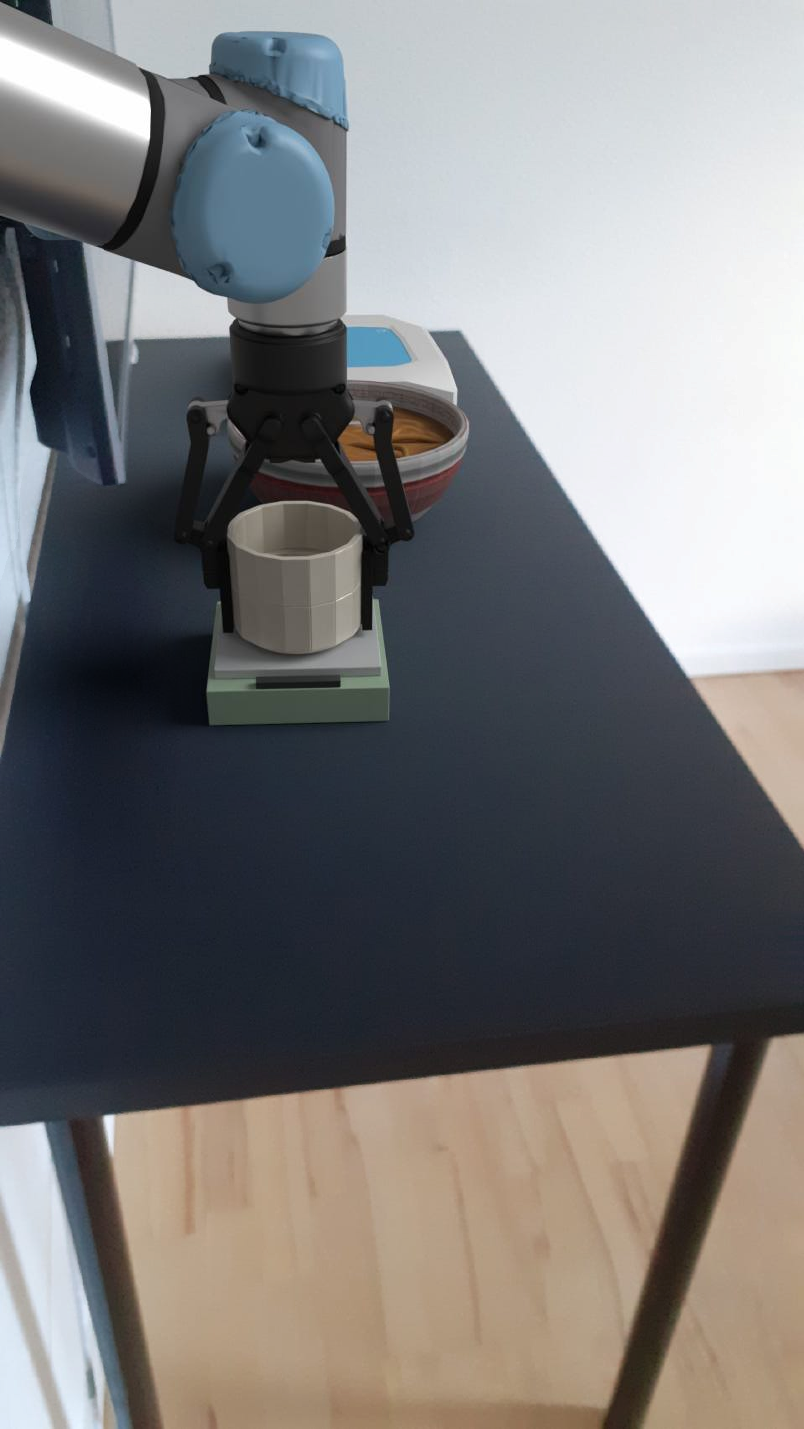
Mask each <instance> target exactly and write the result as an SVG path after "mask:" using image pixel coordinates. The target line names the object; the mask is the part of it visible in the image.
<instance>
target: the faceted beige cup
mask: <svg viewBox="0 0 804 1429" xmlns="http://www.w3.org/2000/svg"><path fill="white" fill-rule="evenodd" d="M226 537H227V548H228V560H229V574H230V587H231V601H232V615H233V626H234V627H235V629H236V630H237V631H238V633H239V634H240V636H241V637H242V638H244V639H246V640H247V641H249V642H251V643H253V644H255V645H257V646H259V647H261V648H264V649H267V650H270V651H274V652H278V653H286V654H307V653H314V652H319V651H323V650H326V649H329V648H332V647H334V646H336V645H338V644H340V643H341V642H343V641H345V640H346V639H348V638H350V637H352V636H354V634H355V633H356V631H357V630H358V628H359V627H360V626H361V624H362V550H363V532H362V526H361V524H360V523H359V521H358V519H357V518H356V517H355V516H354V515H353V514H352V513H350V512H348V511H346V510H343V509H341V508H338V507H336V506H333V505H330V504H324V503H318V502H311V501H280V502H274V503H269V504H263V503H262V504H259V505H256V506H253V507H251V508H249V509H246V510H244V511H242V512H241V511H240V512H239V513H238V514H237V515H235V517H234V518H232V519H231V521H230V523H229V525H228V527H227V529H226Z"/></svg>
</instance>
